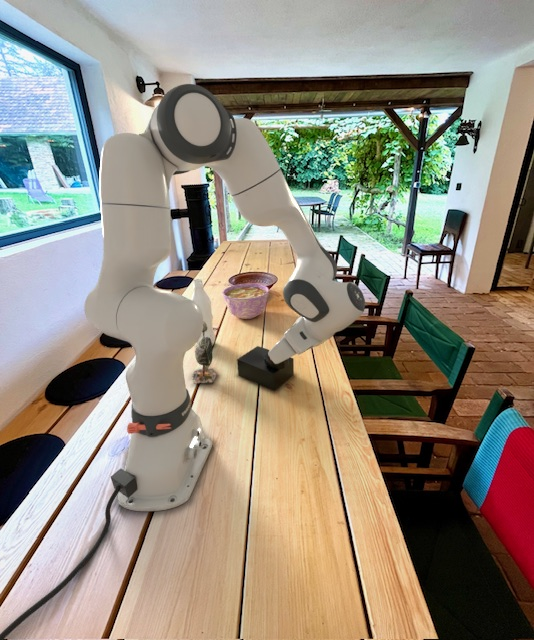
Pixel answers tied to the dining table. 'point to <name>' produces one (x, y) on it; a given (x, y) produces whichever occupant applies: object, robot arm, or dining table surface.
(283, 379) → the black button box
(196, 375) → the plant with pod
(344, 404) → the dining table surface
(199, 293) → the water bottle
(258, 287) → the bowl of food
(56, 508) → the dining table surface
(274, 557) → the dining table surface
